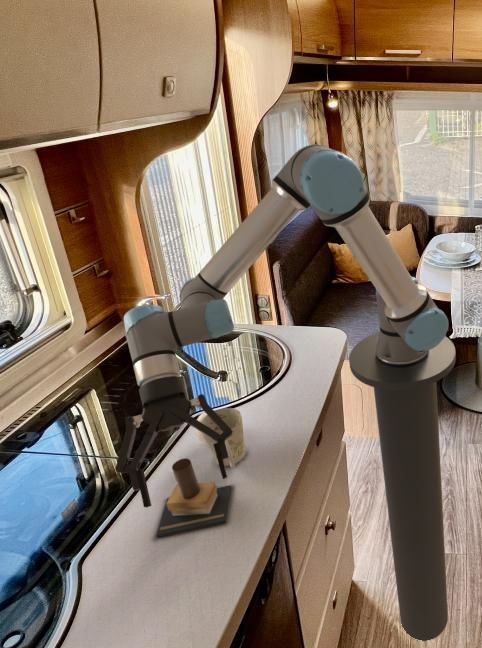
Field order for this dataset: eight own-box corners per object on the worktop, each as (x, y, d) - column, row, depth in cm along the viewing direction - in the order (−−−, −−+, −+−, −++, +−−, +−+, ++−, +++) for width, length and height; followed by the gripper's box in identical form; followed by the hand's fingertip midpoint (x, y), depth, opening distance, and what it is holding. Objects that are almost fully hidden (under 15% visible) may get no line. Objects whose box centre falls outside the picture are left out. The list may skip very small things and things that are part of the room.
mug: (245, 438, 114) (236, 403, 110) (260, 471, 105) (250, 434, 100) (207, 453, 110) (196, 417, 106) (219, 489, 101) (207, 451, 96)
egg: (233, 440, 114) (225, 412, 110) (205, 454, 110) (196, 426, 107) (222, 428, 118) (214, 400, 115) (195, 441, 114) (186, 413, 111)
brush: (219, 494, 99) (206, 454, 94) (210, 514, 94) (196, 472, 90) (181, 497, 99) (167, 456, 94) (171, 517, 94) (155, 475, 90)
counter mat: (231, 487, 101) (230, 484, 101) (225, 522, 93) (225, 520, 93) (168, 500, 99) (167, 497, 98) (156, 537, 91) (155, 535, 91)
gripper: (227, 368, 105) (256, 467, 99) (92, 407, 95) (116, 520, 89) (225, 358, 98) (256, 464, 93) (80, 398, 88) (105, 520, 82)
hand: (187, 491), depth 91 cm, fingers open, 12 cm apart
